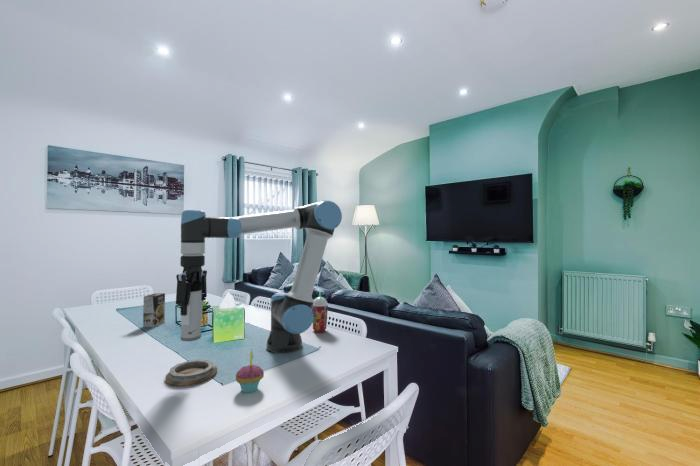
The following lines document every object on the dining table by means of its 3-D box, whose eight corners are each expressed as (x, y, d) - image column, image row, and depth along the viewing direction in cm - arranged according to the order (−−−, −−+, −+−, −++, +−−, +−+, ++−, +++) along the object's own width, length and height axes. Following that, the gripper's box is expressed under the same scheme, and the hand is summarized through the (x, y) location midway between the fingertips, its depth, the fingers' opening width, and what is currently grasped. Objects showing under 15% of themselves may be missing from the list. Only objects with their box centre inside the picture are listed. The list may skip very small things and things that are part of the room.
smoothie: (331, 330, 163) (331, 291, 163) (321, 334, 156) (321, 293, 156) (318, 327, 168) (318, 289, 167) (307, 331, 160) (308, 291, 160)
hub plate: (225, 367, 117) (225, 359, 117) (199, 388, 102) (199, 379, 102) (185, 364, 120) (185, 357, 120) (153, 384, 104) (153, 376, 104)
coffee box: (154, 327, 165) (155, 296, 165) (142, 327, 165) (142, 296, 165) (165, 322, 174) (165, 293, 174) (153, 322, 175) (153, 292, 175)
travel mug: (193, 342, 107) (194, 282, 107) (176, 340, 108) (177, 281, 108) (205, 336, 113) (206, 279, 113) (189, 335, 114) (190, 279, 114)
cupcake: (239, 383, 105) (240, 346, 105) (265, 382, 106) (266, 346, 106) (232, 396, 97) (232, 356, 97) (260, 395, 97) (261, 356, 97)
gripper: (199, 253, 121) (198, 314, 121) (163, 256, 102) (161, 329, 102) (218, 253, 120) (217, 315, 120) (184, 257, 101) (183, 330, 101)
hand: (191, 321), depth 111 cm, fingers closed on travel mug, 6 cm apart
